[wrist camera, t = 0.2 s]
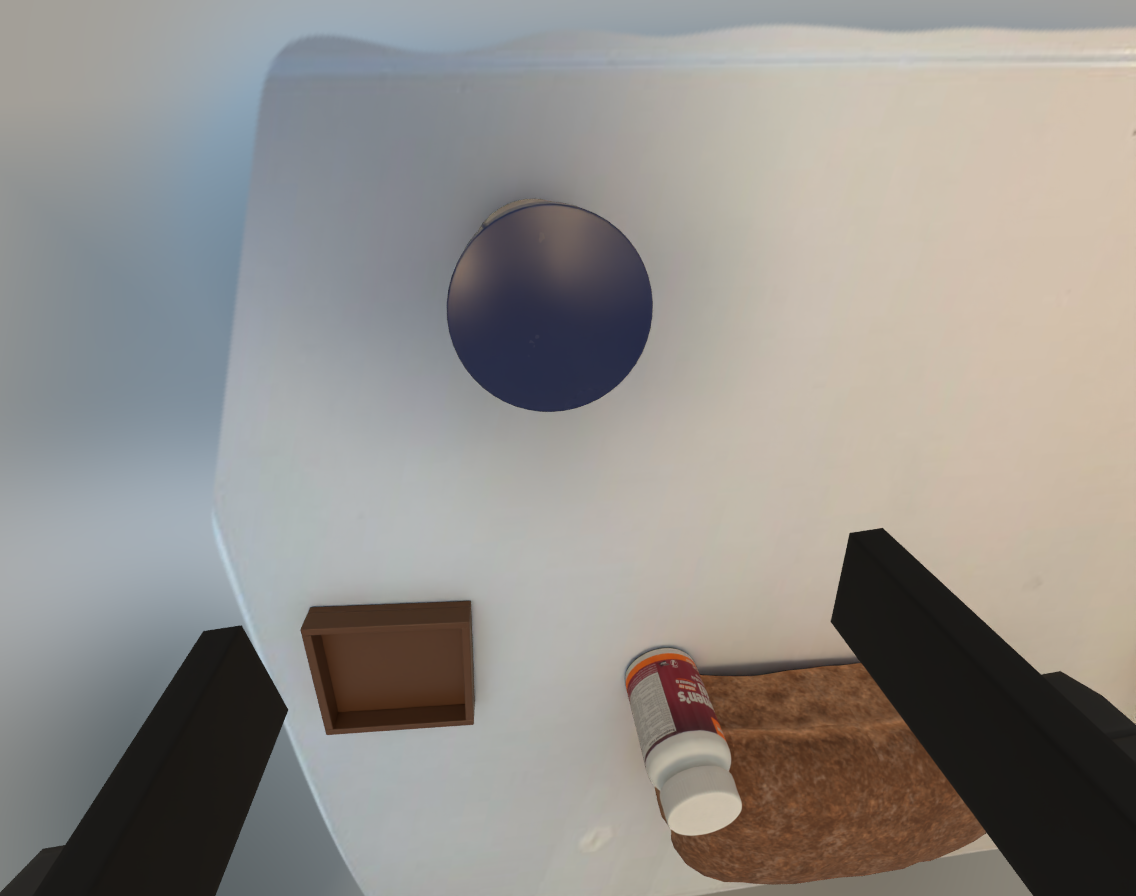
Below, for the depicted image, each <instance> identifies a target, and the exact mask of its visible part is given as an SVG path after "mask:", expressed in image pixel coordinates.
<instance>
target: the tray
mask: <svg viewBox="0 0 1136 896" xmlns="http://www.w3.org/2000/svg"><path fill="white" fill-rule="evenodd" d="M301 634H302V638H303V642H304V646H305V650H306V654H307V658H308V662H309V666H310V670H311V674H312V679H313V683H314V687H315V691H316V695H317V699H318V703H319V707H320V711H321V715H322V719H323V723H324V727H325V731H326V735H333V734H348V733H362V732H376V731H390V730H404V729H418V728H433V727H447V726H461V725H473V724H474V707H475V695H474V668H473V642H472V616H471V601H457V602H432V603H407V604H382V605H357V606H332V607H311V608H310V609H309V612H308V614H307V616H306V618H305V621H304V623H303V625H302V627H301Z"/></svg>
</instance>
